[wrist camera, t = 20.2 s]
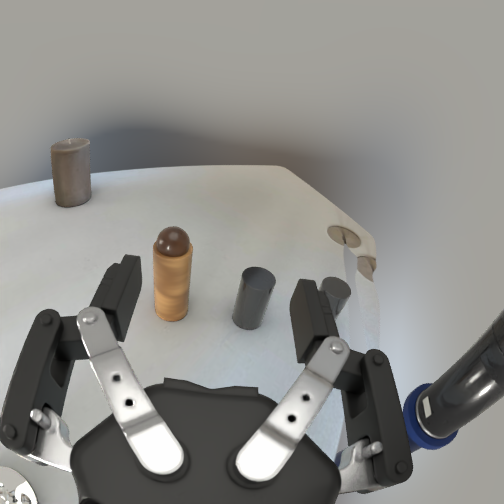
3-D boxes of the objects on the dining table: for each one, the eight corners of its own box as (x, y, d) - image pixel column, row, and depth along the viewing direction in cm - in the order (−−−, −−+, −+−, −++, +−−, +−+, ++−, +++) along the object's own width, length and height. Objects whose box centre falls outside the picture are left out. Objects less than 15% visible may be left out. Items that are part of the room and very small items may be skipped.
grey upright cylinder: (261, 308, 43) (274, 269, 38) (262, 331, 39) (277, 292, 35) (232, 305, 42) (241, 264, 38) (231, 328, 39) (242, 287, 34)
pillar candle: (52, 209, 52) (45, 146, 43) (59, 191, 59) (55, 135, 50) (90, 205, 56) (87, 142, 47) (93, 187, 63) (92, 131, 54)
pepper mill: (189, 299, 42) (197, 221, 34) (185, 323, 38) (191, 244, 30) (158, 294, 41) (158, 216, 33) (152, 318, 37) (148, 238, 29)
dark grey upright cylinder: (326, 314, 45) (346, 278, 40) (332, 335, 41) (354, 299, 36) (301, 312, 44) (319, 275, 39) (306, 334, 40) (326, 297, 36)
